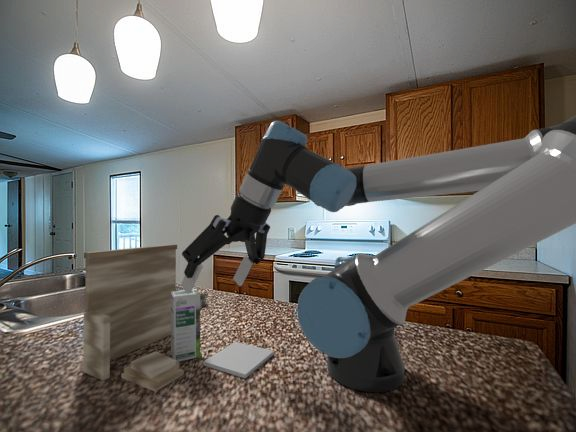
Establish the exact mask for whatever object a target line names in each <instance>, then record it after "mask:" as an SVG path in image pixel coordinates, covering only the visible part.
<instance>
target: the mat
mask: <svg viewBox="0 0 576 432" xmlns="http://www.w3.org/2000/svg"><path fill="white" fill-rule="evenodd" d="M274 355H275V350H271V349H267V348H263V347H259V346H255V345H251V344H247V343H243V342H239V341H234V342H232V343H230V344H229V345H228V346H226V347H224V348H223V349H221V350H220V351H218V352H216V353H214V354H213V355H212V356H210V357H209V358H206V359H205V360H203V362H202V363H203V364H202V365H203V366H204V367H208V368H211V369H214V370H217V371H221V372H224V373H227V374H230V375H232V376H235V377H238V378H239V377H240V378H243V379H247V378H248V377H249V376H250V375H252V374H253V373H254V372H255V371H256V370H257V369H259V368H260V367H261V366H262V365H263V364H265V363H266V362H267V361H268V360H269V359H271V358H272V356H274Z"/></svg>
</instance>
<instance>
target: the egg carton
mask: <svg viewBox="0 0 576 432" xmlns="http://www.w3.org/2000/svg"><path fill="white" fill-rule="evenodd" d="M207 296H208V293H206V292H205V293H204V292H203V293H200V309H201V308H202V307H203V306H206V305H207Z"/></svg>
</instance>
